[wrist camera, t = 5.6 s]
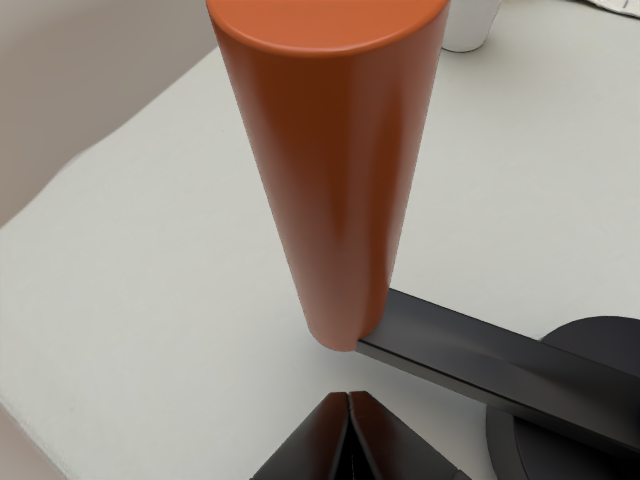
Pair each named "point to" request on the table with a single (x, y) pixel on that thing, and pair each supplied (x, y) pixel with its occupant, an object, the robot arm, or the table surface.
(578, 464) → the base
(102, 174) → the table surface
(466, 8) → the cup
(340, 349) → the crank handle
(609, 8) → the toy measuring tape
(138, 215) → the table surface
